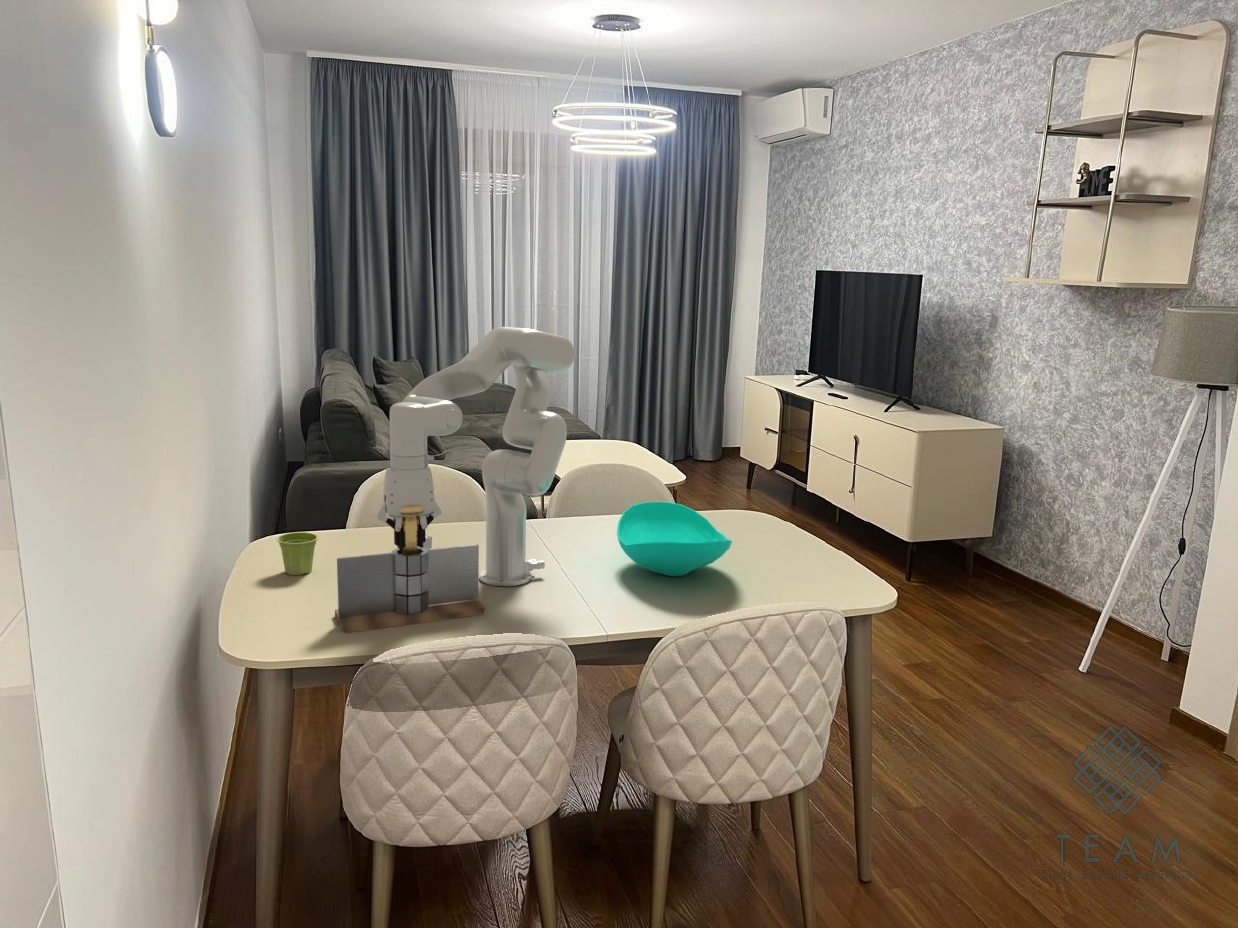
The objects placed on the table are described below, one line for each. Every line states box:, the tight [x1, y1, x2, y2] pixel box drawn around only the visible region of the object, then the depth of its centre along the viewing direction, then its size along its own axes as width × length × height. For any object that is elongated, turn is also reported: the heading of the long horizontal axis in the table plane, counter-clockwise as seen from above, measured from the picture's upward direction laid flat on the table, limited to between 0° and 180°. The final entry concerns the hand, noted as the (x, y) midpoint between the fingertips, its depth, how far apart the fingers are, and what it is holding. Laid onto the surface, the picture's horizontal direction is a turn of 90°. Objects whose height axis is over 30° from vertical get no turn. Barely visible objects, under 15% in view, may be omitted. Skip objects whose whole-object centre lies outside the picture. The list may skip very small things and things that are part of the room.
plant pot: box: [276, 531, 319, 576], centre depth 227 cm, size 9×9×9 cm
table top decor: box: [616, 501, 733, 577], centre depth 237 cm, size 40×28×13 cm
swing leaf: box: [394, 543, 480, 605], centre depth 203 cm, size 19×7×12 cm, turn 116°
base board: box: [334, 599, 486, 634], centre depth 202 cm, size 30×10×2 cm, turn 116°
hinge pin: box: [400, 506, 424, 555], centre depth 199 cm, size 6×6×14 cm
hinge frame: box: [336, 547, 429, 618], centre depth 199 cm, size 19×7×13 cm, turn 116°
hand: (409, 546), depth 199 cm, fingers closed on hinge pin, 3 cm apart
